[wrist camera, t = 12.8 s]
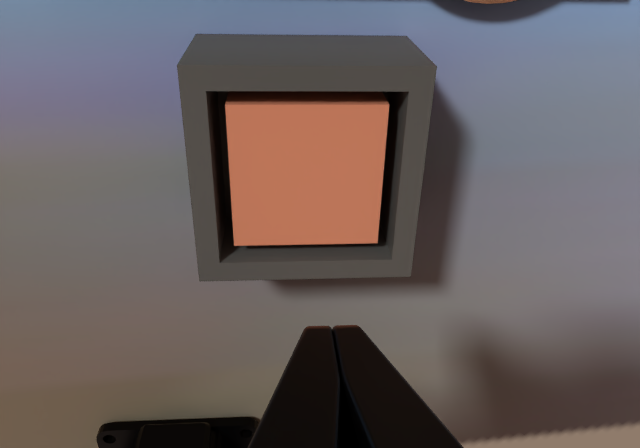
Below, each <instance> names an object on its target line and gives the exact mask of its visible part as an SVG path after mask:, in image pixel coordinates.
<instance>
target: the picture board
mask: <svg viewBox="0 0 640 448" xmlns="http://www.w3.org/2000/svg"><path fill="white" fill-rule="evenodd" d="M464 1H468V2H473V3H485V4H493V3H506V2H511V1H516V0H464Z"/></svg>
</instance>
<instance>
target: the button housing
mask: <svg viewBox="0 0 640 448" xmlns="http://www.w3.org/2000/svg"><path fill="white" fill-rule="evenodd" d="M177 69H178V78H179V88H180V98H181V108H182V117H183V127H184V137H185V146H186V156H187V166H188V176H189V185H190V195H191V205H192V214H193V224H194V234H195V244H196V253H197V263H198V273H199V281H238V280H284V279H330V278H375V277H411V270H412V262H413V254H414V246H415V238H416V230H417V222H418V214H419V206H420V198H421V190H422V182H423V174H424V165H425V157H426V149H427V141H428V133H429V125H430V117H431V109H432V101H433V93H434V85H435V77H436V69H437V66H436V65H435V64H434V63H433V62H432V61H431V60H430V59H429V58H428V57H427V56H426V55H425V54H424V53H423V52H422V51H421V50H420V49H419V48H418V47H417V46H416V45H415V44H414V43H413V42H412V41H411V40H410V39H409V38H408V37H407V36H353V35H242V34H196V35H195V37H194V38H193V40H192V42H191V43H190V45H189V46H188V48H187V50H186V51H185V53H184V55H183V56H182V58H181V60H180V61H179V63H178V64H177ZM228 91H382V93H383V94H384V96H385V98H386V100H387V102H388V103H389V114H388V126H387V137H386V149H385V161H384V172H383V184H382V196H381V207H380V219H379V231H378V243H363V244H306V245H248V246H234V237H233V221H232V205H231V190H230V174H229V158H228V142H227V126H226V111H225V103H226V99H227V95H228Z"/></svg>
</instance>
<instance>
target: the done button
mask: <svg viewBox="0 0 640 448" xmlns="http://www.w3.org/2000/svg"><path fill="white" fill-rule="evenodd" d="M225 111H226V126H227V142H228V158H229V174H230V190H231V205H232V221H233V237H234V246H248V245H306V244H363V243H378V231H379V219H380V207H381V196H382V184H383V172H384V161H385V149H386V137H387V126H388V114H389V103H388V102H387V100H386V98H385V96H384V94H383V93H382V91H228V95H227V99H226V103H225Z"/></svg>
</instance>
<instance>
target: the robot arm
mask: <svg viewBox="0 0 640 448" xmlns="http://www.w3.org/2000/svg"><path fill="white" fill-rule="evenodd" d="M245 429H247V430H245ZM97 443H98V447H99V448H463V446H462V445H461V444H460V443H459V442H458V441H457V439H456V438H455V437H454V436H453V435H452V434H451V432H450V431H449V430H448V429H447V428H446V427H445V425H444V424H443V423H442V422H441V421H440V420H439V419H438V417H437V416H436V415H435V414H434V413H433V412H432V410H431V409H430V408H429V407H428V406H427V405H426V403H425V402H424V401H423V400H422V399H421V398H420V396H419V395H418V394H417V393H416V392H415V391H414V389H413V388H412V387H411V386H410V385H409V384H408V382H407V381H406V380H405V379H404V378H403V377H402V375H401V374H400V373H399V372H398V371H397V370H396V368H395V367H394V366H393V365H392V364H391V363H390V361H389V360H388V359H387V358H386V357H385V356H384V354H383V353H382V352H381V351H380V350H379V349H378V347H377V346H376V345H375V344H374V343H373V342H372V340H371V339H370V338H369V337H368V336H367V335H366V333H365V332H364V331H363V330H362V329H361V328H360V327H359V326H357V325H340V326H335V327H333V329H331V327H329V326H308V327H306V328H305V329H304V331H303V333H302V335H301V337H300V339H299V341H298V343H297V345H296V347H295V350H294V352H293V354H292V356H291V358H290V360H289V362H288V364H287V366H286V368H285V370H284V373H283V375H282V377H281V379H280V381H279V383H278V385H277V387H276V389H275V391H274V394H273V396H272V398H271V400H270V402H269V404H268V406H267V408H266V410H265V412H264V415H263V417H262V419H261V421H260V423H259V425H258V422H257V421H256V420H254V419H252V418H220V419H195V420H169V421H143V422H118V423H106V424H104V425H102V426H101V427H100V428H99V431H98V434H97Z"/></svg>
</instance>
